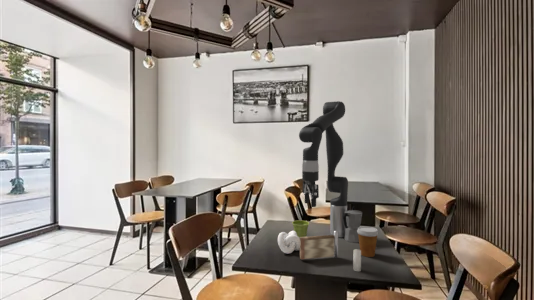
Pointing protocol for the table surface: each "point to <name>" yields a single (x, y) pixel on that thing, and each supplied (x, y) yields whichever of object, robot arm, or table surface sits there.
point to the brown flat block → (316, 246)
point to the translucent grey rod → (335, 244)
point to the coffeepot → (352, 224)
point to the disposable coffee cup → (367, 240)
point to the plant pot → (300, 228)
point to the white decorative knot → (289, 242)
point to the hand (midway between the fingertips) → (310, 204)
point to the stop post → (357, 260)
